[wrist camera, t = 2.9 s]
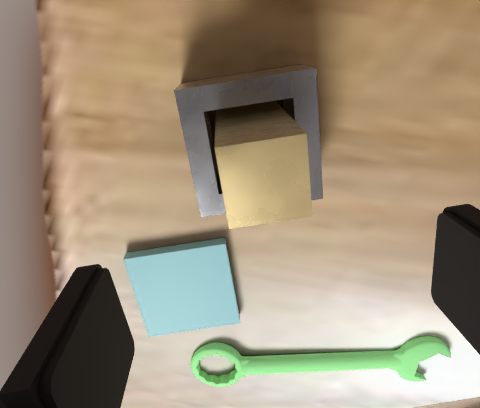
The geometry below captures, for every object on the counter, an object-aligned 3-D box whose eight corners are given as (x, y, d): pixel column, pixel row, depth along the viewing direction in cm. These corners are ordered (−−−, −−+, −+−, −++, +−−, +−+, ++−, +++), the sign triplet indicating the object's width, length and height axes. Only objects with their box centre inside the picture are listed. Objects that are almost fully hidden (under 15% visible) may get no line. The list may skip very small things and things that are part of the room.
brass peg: (216, 108, 25) (214, 147, 15) (274, 99, 24) (306, 133, 15) (225, 164, 26) (229, 229, 17) (279, 155, 26) (312, 216, 17)
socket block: (180, 83, 24) (174, 90, 20) (301, 64, 24) (316, 67, 20) (203, 193, 27) (201, 217, 23) (308, 177, 27) (323, 198, 23)
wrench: (433, 366, 38) (446, 327, 35) (444, 383, 36) (459, 343, 34) (191, 378, 36) (190, 337, 33) (191, 395, 34) (189, 354, 32)
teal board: (126, 252, 29) (123, 259, 28) (225, 237, 29) (225, 243, 28) (150, 328, 32) (148, 336, 31) (239, 315, 32) (240, 323, 31)
